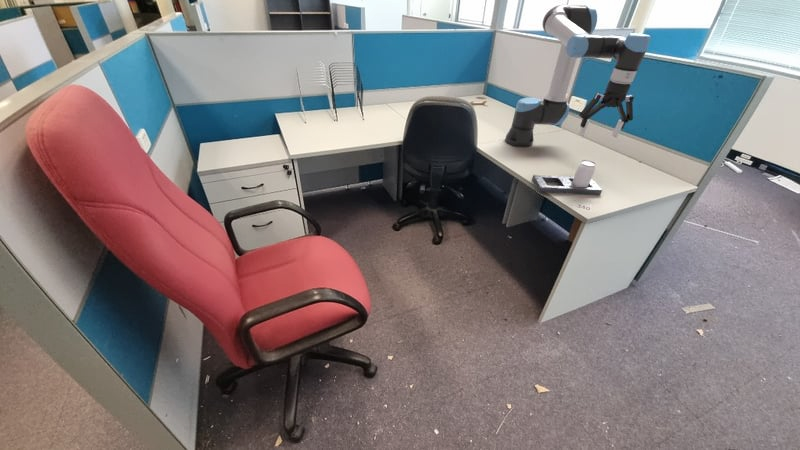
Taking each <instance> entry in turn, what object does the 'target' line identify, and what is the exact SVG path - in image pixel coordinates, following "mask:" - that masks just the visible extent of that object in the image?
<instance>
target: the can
mask: <svg viewBox="0 0 800 450" xmlns="http://www.w3.org/2000/svg"><path fill="white" fill-rule="evenodd" d="M595 170H596V163H595V162H594V161H592V160H588V159H587V160H586V159H582V160H581V162H580V163H579V164H578V166H577V169H576V171H575V173H574V175H573V177H574V178H573V181H572V183H573V184H574V186H575V187H588V185H589V183H590V180H591V178H592V177H593V176H594V173H595ZM592 179H593V178H592Z"/></svg>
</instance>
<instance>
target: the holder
mask: <svg viewBox="0 0 800 450" xmlns="http://www.w3.org/2000/svg"><path fill="white" fill-rule="evenodd" d="M573 178H574V176H565V175H564V176H562V175H561V176H560V175H542V174H541V175H539V174H538V175H537V174H534V175H532V177H531V182H532V183H533V184H534V186H535V188H536V189H537V191H538V192H539V193H543V194H544V193H545V194H547V193H549V194H568V195H569V194H570V195H590V196H591V195H593V196H601V193H602V191H603V189H602V188H601V186H600V185H599V184H598V183H597V182H596V181H595V180H594V179H593V178H591V180H590V183H589V185H588V187H575V186H574V184H573V183H572V181H573ZM547 183H552V184H557V185H547Z"/></svg>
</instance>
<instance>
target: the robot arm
mask: <svg viewBox="0 0 800 450" xmlns="http://www.w3.org/2000/svg"><path fill="white" fill-rule="evenodd" d="M542 19H543V20H542V29H543V31H544V32H545V33H546V34H547V35H548V36H551V37H555V38H556V39H557V40H558V41H559V42H561V45H560V49H559V52H558V56H557V60H556V64H555V67H554V70H553V74H552V79H551V82H550V85H549V90H548V93H547V94H546V95H545V96H544V97H543V100H541V99H540V98H539V97H524V98H521V99H519V100H518V101H517V103H516V106H515V109H514V114H513V119H512V123H511V125H510V126H511V127H510V129H509V130H508V132H507V133H506V135H505V139H504V141H505V142H506V143H507V144H509V145H511V146H513V147H520V148H529V147H531V146H533V144H534V140H535V139H534V128H535V126H536V125H544V126H545V125H546V126H547V125H548V126H549V125H550V126H555V125H556V126H557V125H561V124H563V123H564V122H565V121H566V120H567V118H568V116H569V113H570V104H569V102H568V98H567V97H566V96H567V92H568V89H569V86H570V82H571V79H572V76H573V72H574V69H575V66H576V62H577V59H578V58H579V59H581V58H583V59H584V58H585V59H611V60H615V61H616V63H615V64H614V68H613V70H612V72H611V75H610V77H609V78H610V80H608V82H607V85H606V88H605V92H604V93H603V94H600V93H598V92H596V93H595V94H594V97H593V98H592V99H591V100H590V102H589V103H588V104H587V105H586V106H585V107H584V108H583V109H582V110H581V112H579V117H580V118H581V119H582V120H581V123H580V130H579V135H580V136H581V137H584V136H585V133H586V131H587V129H588V126H589V125H590V124H589V123H590V121H591V120H590V119H591V118H592V117H593V116H595V115H596V114H597V113H598V112H599V111H601V110H603V109H604V108H616V110H617V112H618V114H619V116H620V118H621V119H618V121H617V124H616V125H615V128H614V129H613V132H612V134H611V135H612V137H613V138H615V139H618V136H619V134H620V132H621V130H623V129H624V127H625V125H626V124H627V123H629V121H633V120H634V113H633V107H634V106H633V103H634V102H633V101H634V98H635V96H633V95H632V94H628V93H629V91H630V88H631V86H632V82H633V81H634V79H635V77H636V74H637V72H638V70H639V68H640V66H641V63H642V61H643V59H644V56H645V55H646V53H647V51H648V47H649V44H650V41H651V36H650V35H649V34H644V33H635V32H633V33H628V35H626V36H623V35H621V34H611V35H597V34H596V35H593V32H594V31H595V30H596V26H597V23H598V13H597V10H596V7H594V6H591V5H586V4H585V5H579V4H576V5H575V4H574V5H573V4H559V5H556V6H554V7H552V8H550V9H548V11H547V12H546V14H545V15H544V17H543V18H542ZM624 101H625V109H624V106H623V102H624Z"/></svg>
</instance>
